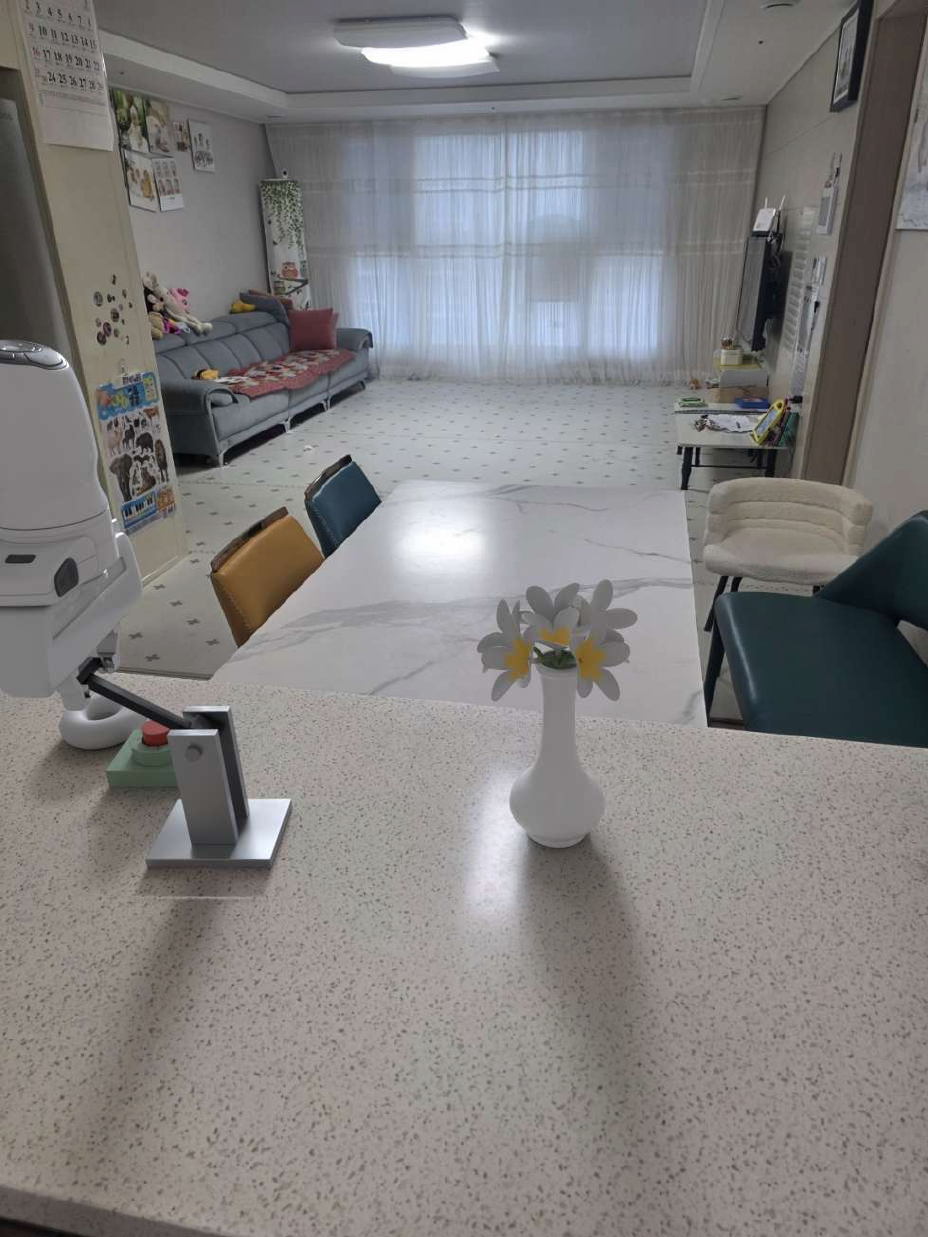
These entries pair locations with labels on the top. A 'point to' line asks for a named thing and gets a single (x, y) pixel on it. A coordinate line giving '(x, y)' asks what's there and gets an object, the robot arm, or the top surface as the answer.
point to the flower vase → (558, 700)
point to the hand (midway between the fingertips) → (94, 687)
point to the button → (155, 734)
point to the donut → (99, 724)
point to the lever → (138, 701)
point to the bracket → (215, 804)
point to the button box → (141, 765)
